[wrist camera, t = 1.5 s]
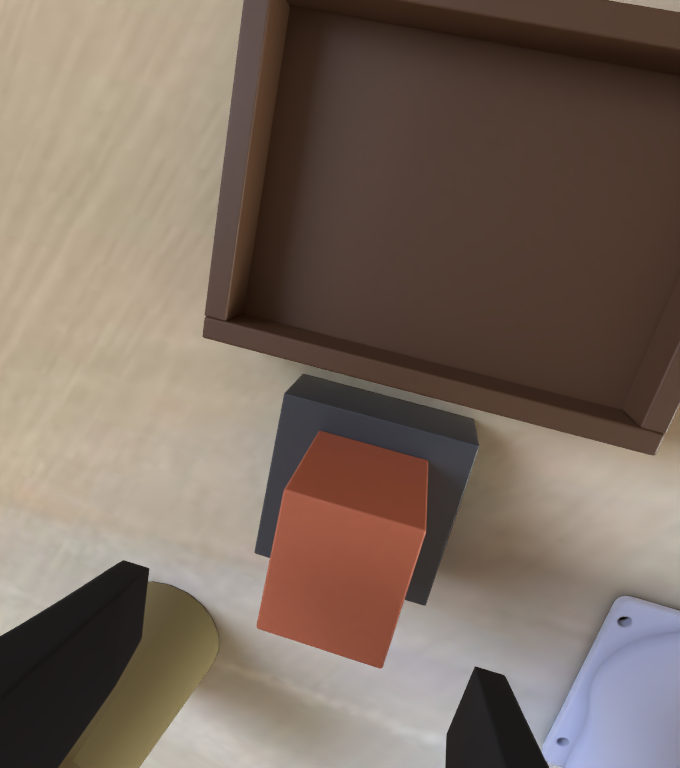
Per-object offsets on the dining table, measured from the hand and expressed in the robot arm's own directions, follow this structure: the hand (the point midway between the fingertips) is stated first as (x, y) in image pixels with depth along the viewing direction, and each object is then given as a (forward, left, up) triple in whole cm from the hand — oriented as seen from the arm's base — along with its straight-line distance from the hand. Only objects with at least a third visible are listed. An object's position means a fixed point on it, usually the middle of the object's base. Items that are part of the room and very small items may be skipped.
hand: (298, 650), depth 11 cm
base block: (-1, 0, -11) cm, 10 cm away
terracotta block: (-1, 0, -8) cm, 8 cm away
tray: (+9, -1, -11) cm, 14 cm away
